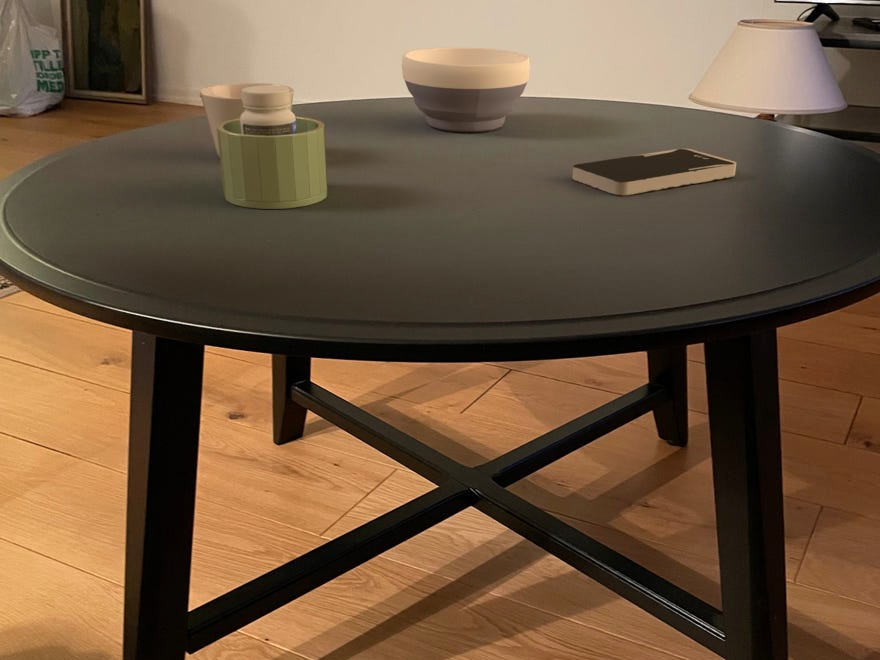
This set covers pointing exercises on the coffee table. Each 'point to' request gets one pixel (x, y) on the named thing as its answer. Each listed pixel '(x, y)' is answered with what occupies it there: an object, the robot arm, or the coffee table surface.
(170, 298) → the coffee table surface
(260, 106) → the pill bottle
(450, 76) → the bowl
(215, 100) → the beige tapered pot
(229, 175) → the cup
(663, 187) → the smartphone
